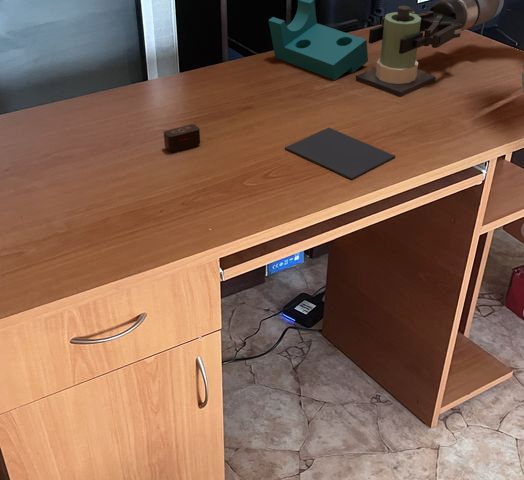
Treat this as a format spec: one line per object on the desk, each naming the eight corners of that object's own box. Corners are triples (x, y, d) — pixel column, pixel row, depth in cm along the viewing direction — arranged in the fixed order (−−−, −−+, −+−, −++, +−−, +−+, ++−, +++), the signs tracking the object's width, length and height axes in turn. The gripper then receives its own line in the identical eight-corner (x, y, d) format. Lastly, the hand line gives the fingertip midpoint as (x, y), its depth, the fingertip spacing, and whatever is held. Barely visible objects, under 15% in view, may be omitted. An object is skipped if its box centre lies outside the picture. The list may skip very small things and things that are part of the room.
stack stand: (435, 81, 168) (446, 7, 158) (400, 96, 161) (409, 21, 151) (390, 65, 174) (399, -6, 164) (355, 80, 168) (362, 7, 158)
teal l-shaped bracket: (276, 63, 178) (268, 20, 170) (308, 39, 182) (302, -4, 174) (335, 86, 169) (330, 41, 161) (368, 60, 172) (364, 16, 164)
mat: (395, 157, 141) (395, 155, 141) (351, 180, 134) (351, 178, 134) (328, 129, 149) (328, 127, 149) (284, 149, 143) (284, 147, 143)
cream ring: (423, 76, 167) (425, 62, 165) (399, 87, 162) (401, 72, 160) (392, 65, 171) (394, 51, 169) (368, 75, 167) (369, 61, 165)
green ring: (421, 62, 165) (428, 18, 159) (400, 71, 161) (406, 26, 155) (394, 53, 169) (399, 9, 163) (373, 61, 165) (377, 17, 159)
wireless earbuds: (205, 145, 144) (204, 128, 142) (170, 154, 141) (169, 137, 139) (193, 135, 147) (192, 118, 145) (159, 144, 144) (157, 127, 142)
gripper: (487, 45, 168) (423, 73, 156) (412, 22, 179) (346, 47, 167) (495, 9, 163) (428, 35, 151) (417, -13, 174) (349, 10, 162)
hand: (385, 41), depth 159 cm, fingers closed on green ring, 7 cm apart
